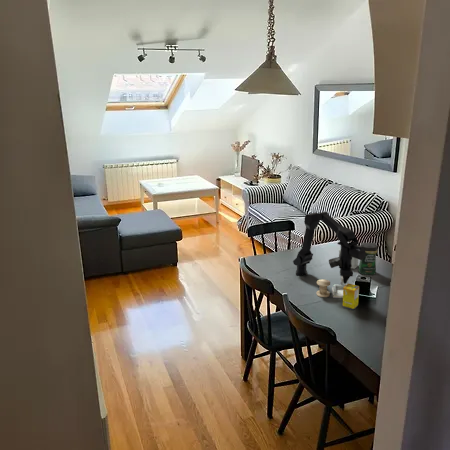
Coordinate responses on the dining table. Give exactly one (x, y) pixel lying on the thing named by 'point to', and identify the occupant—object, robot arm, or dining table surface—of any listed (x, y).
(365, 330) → the dining table surface
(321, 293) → the spool
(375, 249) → the coffee jar
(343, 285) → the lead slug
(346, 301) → the supplement box
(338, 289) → the white rectangular tray
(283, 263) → the dining table surface
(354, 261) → the skincare box
